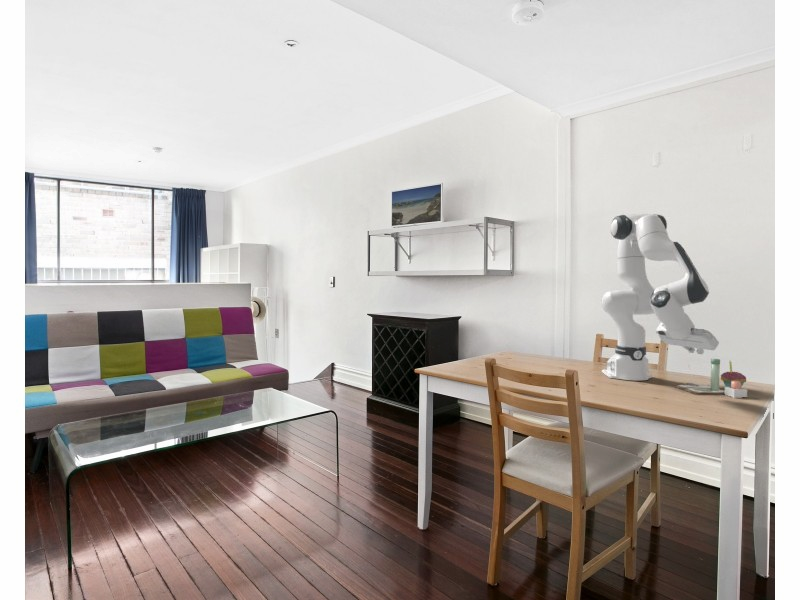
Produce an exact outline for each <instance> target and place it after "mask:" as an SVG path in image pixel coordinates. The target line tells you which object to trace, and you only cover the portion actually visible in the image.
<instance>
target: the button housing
mask: <svg viewBox="0 0 800 600" xmlns="http://www.w3.org/2000/svg"><path fill="white" fill-rule="evenodd" d="M724 390H725V393H724V394H725V396H727V395H728V396H727V397H730V396H731V398H734V399H735V398H737V399H738V398H739V399H743V398H742V397H747V398H748V389H747V388H744V387H741V389H732V388H731V387H725V386H724ZM724 394H723V395H724Z"/></svg>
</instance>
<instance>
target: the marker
mask: <svg viewBox="0 0 800 600" xmlns="http://www.w3.org/2000/svg"><path fill="white" fill-rule="evenodd" d="M720 369H721V359H720V358H719V359H718V358H710V390H713V391H719V389H720V375H721V373H720Z"/></svg>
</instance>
